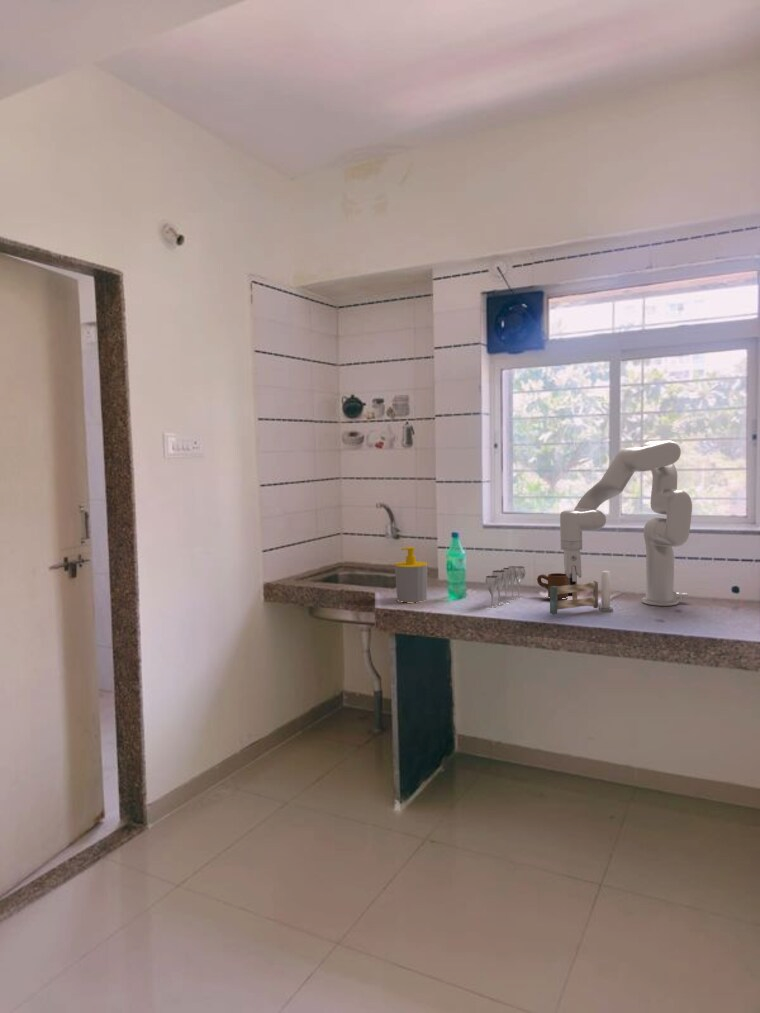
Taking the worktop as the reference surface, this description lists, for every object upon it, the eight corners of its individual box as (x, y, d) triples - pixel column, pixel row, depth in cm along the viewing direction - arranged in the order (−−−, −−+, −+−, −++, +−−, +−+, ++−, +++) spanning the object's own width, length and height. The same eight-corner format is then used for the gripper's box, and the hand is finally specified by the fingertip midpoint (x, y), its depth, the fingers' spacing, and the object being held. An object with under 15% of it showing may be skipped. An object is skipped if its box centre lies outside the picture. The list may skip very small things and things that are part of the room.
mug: (534, 598, 268) (534, 575, 267) (540, 595, 275) (539, 571, 274) (565, 601, 262) (565, 577, 261) (570, 597, 269) (570, 573, 268)
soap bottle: (395, 597, 279) (394, 545, 277) (427, 596, 278) (426, 544, 277) (395, 604, 266) (393, 550, 264) (428, 603, 265) (427, 549, 264)
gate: (595, 606, 247) (595, 580, 246) (599, 607, 246) (599, 581, 245) (550, 613, 240) (549, 586, 239) (553, 614, 238) (552, 587, 237)
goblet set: (496, 610, 251) (495, 574, 250) (482, 608, 254) (481, 573, 253) (528, 596, 273) (528, 563, 272) (515, 595, 277) (514, 562, 276)
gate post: (610, 608, 248) (609, 570, 247) (613, 611, 243) (612, 572, 242) (598, 608, 248) (598, 570, 247) (601, 611, 243) (601, 572, 242)
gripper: (585, 547, 237) (586, 600, 238) (578, 542, 252) (579, 591, 253) (563, 548, 238) (564, 600, 239) (557, 542, 253) (558, 591, 254)
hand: (572, 595), depth 246 cm, fingers closed
